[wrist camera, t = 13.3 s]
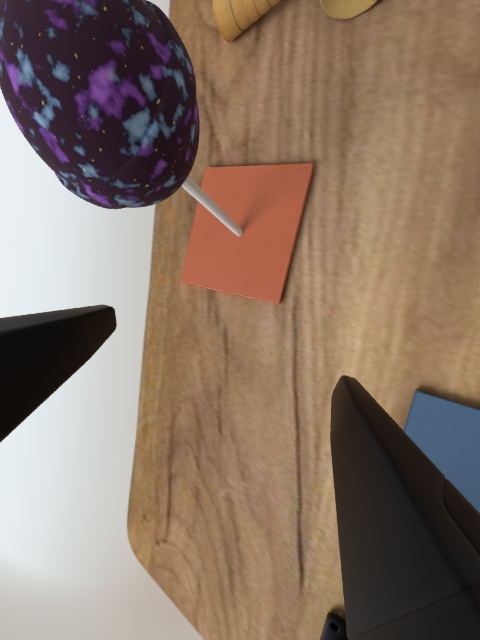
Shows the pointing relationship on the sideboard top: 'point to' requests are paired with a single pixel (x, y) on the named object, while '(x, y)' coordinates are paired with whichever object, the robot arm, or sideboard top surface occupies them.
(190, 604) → the sideboard top surface
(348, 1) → the kendama
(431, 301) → the sideboard top surface
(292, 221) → the terracotta pad
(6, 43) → the lollipop
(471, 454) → the slate pad
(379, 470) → the robot arm
